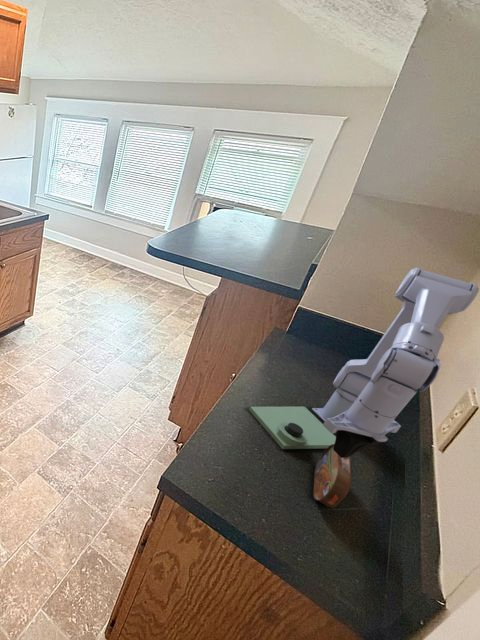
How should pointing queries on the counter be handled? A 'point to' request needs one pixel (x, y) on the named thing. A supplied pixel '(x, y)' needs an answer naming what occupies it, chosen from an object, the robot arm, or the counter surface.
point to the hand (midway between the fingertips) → (339, 453)
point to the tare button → (294, 430)
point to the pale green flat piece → (282, 416)
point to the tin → (332, 478)
